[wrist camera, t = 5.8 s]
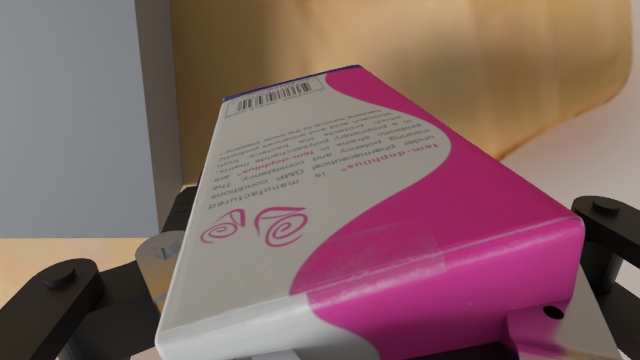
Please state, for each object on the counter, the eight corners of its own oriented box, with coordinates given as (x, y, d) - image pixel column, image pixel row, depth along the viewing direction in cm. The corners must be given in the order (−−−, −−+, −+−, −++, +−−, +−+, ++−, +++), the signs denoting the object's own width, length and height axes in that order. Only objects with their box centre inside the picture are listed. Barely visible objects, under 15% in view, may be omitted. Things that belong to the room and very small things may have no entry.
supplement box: (263, 219, 17) (267, 546, 7) (220, 96, 14) (122, 330, 4) (383, 188, 17) (561, 458, 7) (363, 59, 14) (606, 199, 4)
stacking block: (-124, -72, 16) (-321, -114, 11) (168, -39, 18) (127, -59, 12) (-38, 179, 21) (-142, 238, 15) (183, 183, 23) (159, 237, 17)
